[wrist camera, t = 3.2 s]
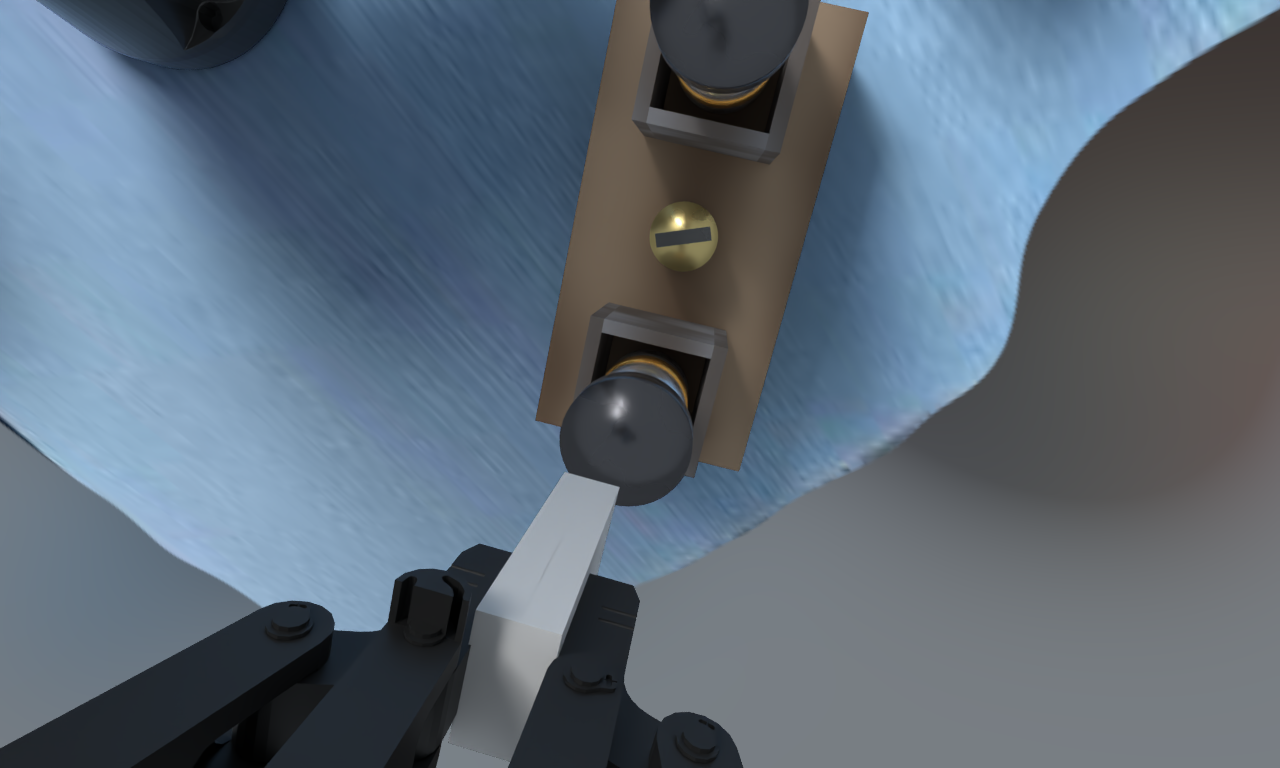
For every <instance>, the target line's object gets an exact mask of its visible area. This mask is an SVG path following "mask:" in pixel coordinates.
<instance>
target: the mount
mask: <svg viewBox="0 0 1280 768" xmlns="http://www.w3.org/2000/svg"><path fill="white" fill-rule="evenodd" d="M820 1H821V0H809V5H808V11H807V16H806V20H805V23H804V26H803V29H802V31H801V33H800V35H799V38H798V40H797V42H796V44H795V46H794V48H793V50H792V52H791V54H790V55H789V57H788V59H787V60H786V61H785V62H784V64H783V65H782V66H781V68H780V69H779V70H777V71H776V72H775V73H774V74H773V75H772V76H771V77H770V79H769V80H768V82H767V84H766V86H765V88H764V89H763V91H762V92H761V94H760V95H759V96H758V97H757V98H756V99H755V100H754V101H753V102H752V103H751V104H749V105H748V106H747V107H745V108H743V109H741V110H739V111H736V112H732V113H726V114H717V113H711V112H708V111H705V110H703V109H701V108H699V107H698V106H696V105H695V104H694V103H693V102H692V101H691V100H690V99H689V98H688V97H687V96H686V94H685V93H684V91H683V89H682V87H681V85H680V82H679V79H678V77H677V75H676V74H675V73H674V71H673V70H672V69H671V68H670V67H669V65H668V64H667V62H666V61H665V59H664V58H663V56H662V54H661V52H660V49H659V47H658V44H657V41H656V38H655V34H654V31H653V27H652V22H651V17H650V0H617V1H616V6H615V11H614V16H613V21H612V27H611V32H610V37H609V42H608V47H607V53H606V58H605V63H604V68H603V73H602V78H601V84H600V89H599V94H598V99H597V104H596V109H595V115H594V120H593V125H592V130H591V135H590V140H589V146H588V151H587V156H586V161H585V166H584V171H583V177H582V182H581V187H580V192H579V197H578V202H577V208H576V213H575V218H574V223H573V228H572V234H571V239H570V244H569V249H568V254H567V259H566V265H565V270H564V275H563V280H562V285H561V290H560V296H559V301H558V306H557V311H556V316H555V321H554V327H553V332H552V337H551V342H550V347H549V352H548V358H547V363H546V368H545V373H544V378H543V383H542V389H541V394H540V399H539V404H538V409H537V414H536V421H540V422H544V423H548V424H552V425H556V426H560V427H561V426H562V422H563V419H564V417H565V414H566V412H567V411H568V409H569V407H570V406H571V404H572V403H573V402H574V400H575V399H576V398H577V397H578V395H579V394H580V393H581V392H582V391H583V390H584V389H585V388H586V387H587V386H588V385H589V384H591V383H592V382H593V381H595V380H597V379H599V378H601V377H603V376H605V374H606V373H607V372H608V371H609V369H610V368H611V367H613V365H614V364H615V363H616V362H617V361H618V360H619V359H620V358H622V357H623V356H624V355H626V354H628V353H631V352H633V351H638V350H654V351H658V352H662V353H664V354H666V355H668V356H669V357H671V358H672V359H673V360H674V361H676V362H677V363H678V365H679V366H680V367H681V369H682V370H683V372H684V374H685V376H686V379H687V383H688V411H689V414H690V417H691V420H692V425H693V446H692V455H691V460H690V463H689V466H688V469H687V471H686V473H685V476H688V477H692V478H694V477H695V473H696V469H697V465H698V461H699V462H703V463H707V464H711V465H715V466H719V467H723V468H727V469H731V470H735V471H739V470H740V466H741V463H742V459H743V456H744V452H745V449H746V445H747V441H748V438H749V434H750V431H751V427H752V424H753V420H754V417H755V413H756V410H757V406H758V403H759V399H760V396H761V392H762V388H763V385H764V381H765V378H766V374H767V371H768V367H769V364H770V360H771V357H772V353H773V350H774V346H775V342H776V339H777V335H778V332H779V328H780V325H781V321H782V318H783V314H784V311H785V307H786V304H787V300H788V297H789V293H790V289H791V286H792V282H793V279H794V275H795V272H796V268H797V265H798V261H799V258H800V254H801V251H802V247H803V244H804V240H805V236H806V233H807V229H808V226H809V222H810V219H811V215H812V212H813V208H814V205H815V201H816V198H817V194H818V191H819V187H820V183H821V180H822V176H823V173H824V169H825V166H826V162H827V159H828V155H829V152H830V148H831V145H832V141H833V137H834V134H835V130H836V127H837V123H838V120H839V116H840V113H841V109H842V106H843V102H844V99H845V95H846V92H847V88H848V84H849V81H850V77H851V74H852V70H853V67H854V63H855V60H856V56H857V53H858V49H859V46H860V42H861V39H862V35H863V31H864V28H865V24H866V21H867V17H868V14H869V12H865V11H860V10H855V9H850V8H846V7H841V6H836V5H832V4H827V3H822V2H820ZM683 201H685V202H692V203H696V204H698V205H700V206H702V207H703V208H705V209H706V210H707V211H708V212H709V213H710V214H711V215H712V217H713V219H714V221H715V223H716V226H717V230H718V242H717V247H716V249H715V252H714V254H713V255H712V257H711V258H710V259H709V260H708V262H706V263H705V264H704V265H703V266H701V267H699V268H697V269H695V270H692V271H686V272H681V271H675V270H672V269H669V268H667V267H666V266H664V265H663V264H662V263H660V262H659V261H658V259H657V258H656V257H655V255H654V253H653V251H652V249H651V246H650V237H649V236H650V229H651V225H652V223H653V221H654V219H655V217H656V216H657V214H658V213H659V212H660V211H661V210H662V209H664V208H665V207H666V206H668V205H670V204H673V203H676V202H683Z"/></svg>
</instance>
